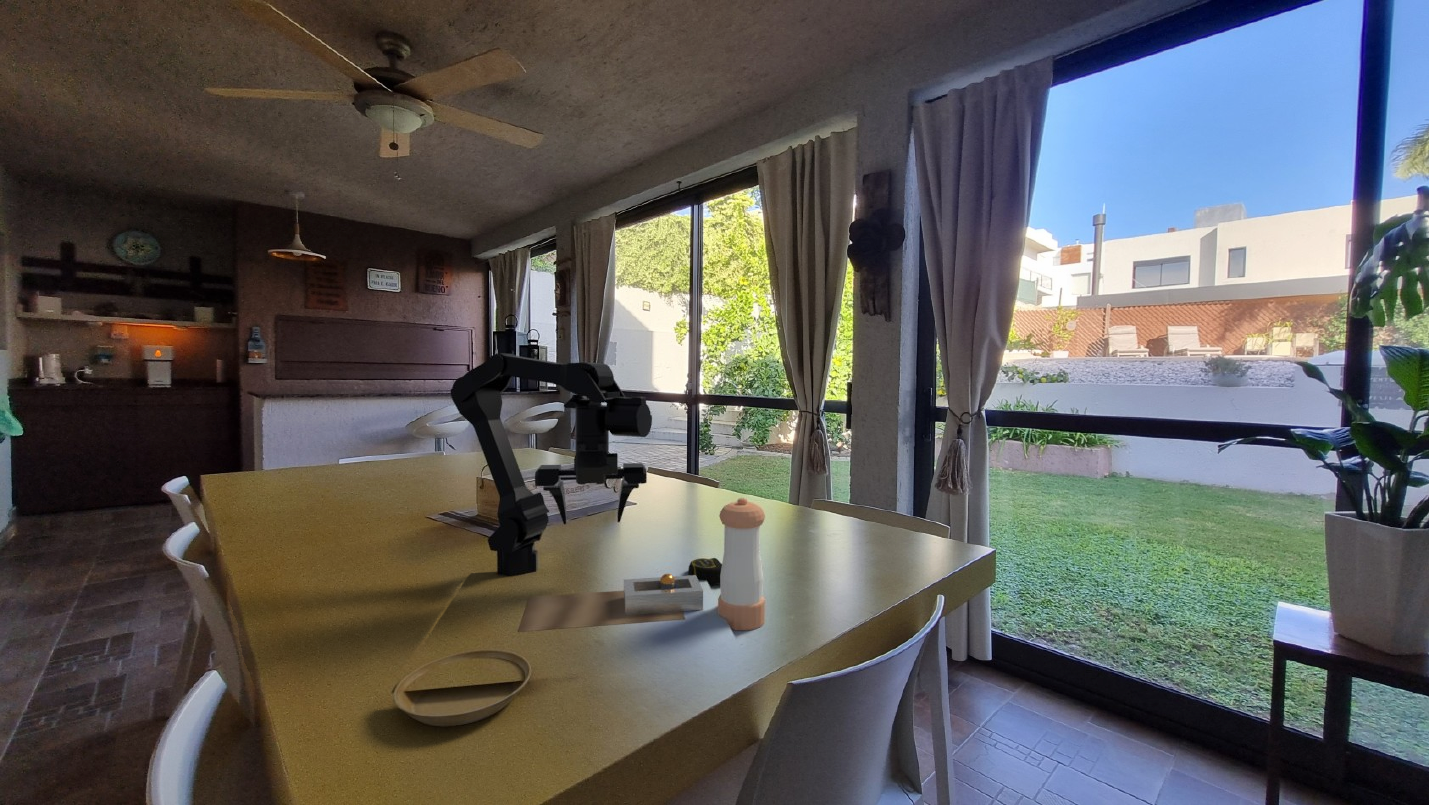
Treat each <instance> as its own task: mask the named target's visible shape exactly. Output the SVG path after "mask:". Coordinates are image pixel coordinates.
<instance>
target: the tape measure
mask: <svg viewBox="0 0 1429 805" xmlns="http://www.w3.org/2000/svg"><path fill="white" fill-rule="evenodd" d="M721 568H722V563H721V561H720V560H719V559H718V558H716V557H713V558H712V557H711V558H696V559H694V560H691V561H690V563H689V565H688V572H687V573H688V576H689V575H696V576H697V579H698V581H706V582H707V584H708V586H714V585H718V584H720V574H721Z"/></svg>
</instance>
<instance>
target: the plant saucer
mask: <svg viewBox="0 0 1429 805" xmlns="http://www.w3.org/2000/svg"><path fill="white" fill-rule="evenodd" d="M479 658H482V659H483V658H492V659H495V658H496V659H502V660H506V661H507V660H508V661H511V662H513V663H514V664H517V665H518V666H520V668H521V669H522V670H523V672H524V680H512V681H504V682H501V681H500V682H493V683H481V684H470V685H459V686H448V687H437V688H427V689H415V690H406V688H408V686H409V685H410V684H411V683H413V682H414V681H415V680H416V679H419V677H421V676H422V675H424V674H426V673H429V672H430V671H432V670H434V669H437V668H440V667H443V666H444V665H448V664H452V663H455V662H460V661H465V660H471V659H479ZM531 674H532V667H531V664H530V662H529V661H528V660H527V659H526V658H525V657H524V656H523V655H520V654H519V653H516V652H513V651H509V650H502V649H476V650H474V649H473V650H468V651H463V652H458V653H454V654H453V653H452V654H449V655H446V656H442V657H440V658H437V659H434V660H432V661H429V662H427V663H425V664H423V665H421V666H419V667H417V668H416V669H414V670H412V671H411V672H409V673H408V674H407V675H406V676H405V677H403V678H402V679H401V680H400V681H399V683H398V684H397V686H396V687H395V688H394V691H393V702H394V703H395V705H396V706H397V707H398V708H399V709H400V710H401V711H402V712H404V714H406V715H407V716H409V717H411V719H414V720H416V721H418V722H421V723H422V724H425V725H429V726H433V727H434V726H435V727H455V726H456V725H457V726H463V725H467V724H471V723H475V722H478V721H481V720H484V719H486V718H488V717H490V716H492V715H494V714H496V713H498V712H499V711H501V710H502V709H503V708H505V707H506V706H507V705H508V704H510V702H512V701H513V699H514V698H515V697H517V695H518V694H519V693H520V692H521V691H522V689H523V688H524V687H525V685H526V684H527V683H528V681H529V679H530V677H531Z"/></svg>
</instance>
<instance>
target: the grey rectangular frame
mask: <svg viewBox="0 0 1429 805" xmlns="http://www.w3.org/2000/svg"><path fill="white" fill-rule="evenodd" d="M672 576H673V577H674V579H675V589H665V590H660V579H661V577H662V576H659V577H645V578H631V579H629V578H627V579H625V578H624V579H623V591H624V607H625V615H635V614H649V613H662V612H676V611H683V612H688V611H700V610H704V589H703V588H702V586H701V582H700V580H699V579H697V576H696V575H689V574H688V575H675V576H674V575H672Z"/></svg>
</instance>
